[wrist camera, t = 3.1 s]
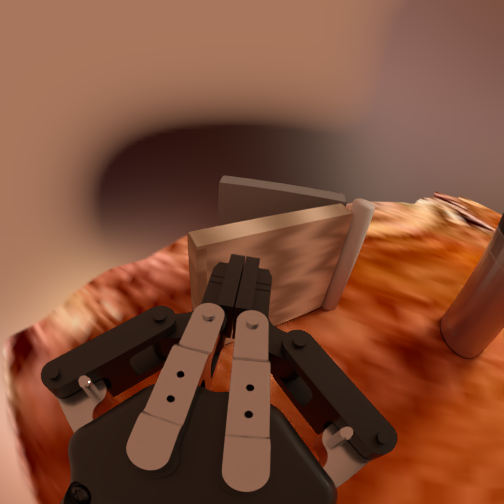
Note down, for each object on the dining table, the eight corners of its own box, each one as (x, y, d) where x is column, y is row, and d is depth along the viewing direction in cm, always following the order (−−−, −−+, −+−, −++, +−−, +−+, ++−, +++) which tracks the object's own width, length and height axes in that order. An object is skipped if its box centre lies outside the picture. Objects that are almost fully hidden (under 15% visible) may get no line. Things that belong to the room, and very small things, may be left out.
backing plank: (334, 285, 39) (366, 191, 30) (337, 311, 35) (377, 211, 26) (219, 268, 40) (223, 167, 31) (211, 293, 36) (213, 184, 27)
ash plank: (311, 296, 37) (340, 203, 28) (320, 307, 35) (354, 213, 27) (195, 337, 30) (187, 232, 21) (202, 352, 28) (196, 247, 20)
